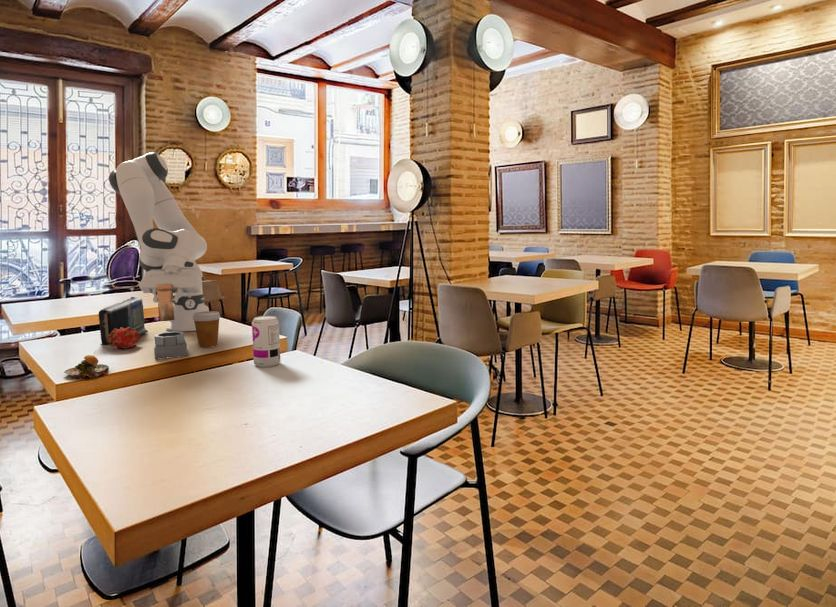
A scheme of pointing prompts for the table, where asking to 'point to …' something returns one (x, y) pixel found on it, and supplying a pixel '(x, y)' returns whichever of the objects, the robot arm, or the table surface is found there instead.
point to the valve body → (170, 345)
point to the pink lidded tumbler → (165, 302)
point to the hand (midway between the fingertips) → (164, 301)
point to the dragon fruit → (123, 338)
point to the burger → (88, 368)
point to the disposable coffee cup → (207, 328)
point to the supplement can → (266, 341)
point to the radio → (122, 318)
